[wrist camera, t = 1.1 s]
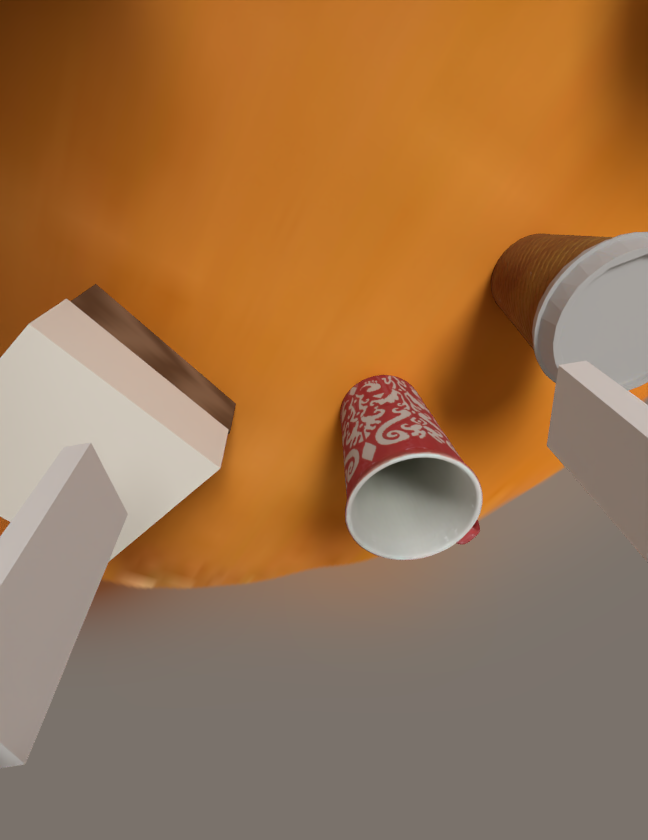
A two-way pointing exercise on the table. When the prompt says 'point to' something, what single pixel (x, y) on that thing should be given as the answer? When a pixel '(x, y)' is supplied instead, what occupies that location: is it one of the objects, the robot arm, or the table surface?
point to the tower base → (155, 353)
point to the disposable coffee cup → (579, 301)
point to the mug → (403, 474)
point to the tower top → (99, 419)
